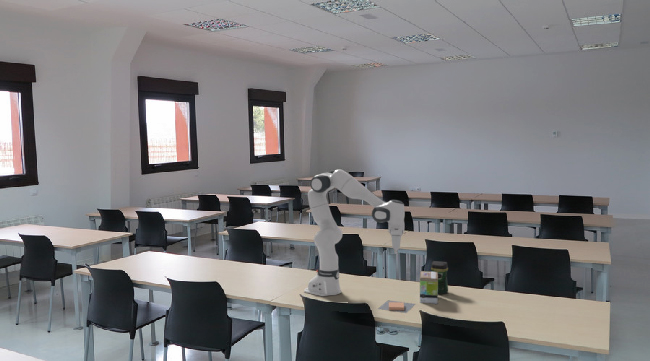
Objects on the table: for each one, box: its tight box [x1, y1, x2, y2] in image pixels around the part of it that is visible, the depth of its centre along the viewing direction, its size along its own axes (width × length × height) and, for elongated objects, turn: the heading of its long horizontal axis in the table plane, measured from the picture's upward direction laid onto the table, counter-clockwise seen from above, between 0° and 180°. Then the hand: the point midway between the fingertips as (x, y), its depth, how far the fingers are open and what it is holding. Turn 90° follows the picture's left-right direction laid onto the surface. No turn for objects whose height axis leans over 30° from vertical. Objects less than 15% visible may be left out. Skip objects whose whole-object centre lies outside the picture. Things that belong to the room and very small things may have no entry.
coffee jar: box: [430, 260, 449, 295], centre depth 307 cm, size 10×8×19 cm
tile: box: [388, 301, 404, 311], centre depth 279 cm, size 2×8×8 cm
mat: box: [377, 299, 416, 314], centre depth 282 cm, size 16×16×1 cm
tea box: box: [419, 270, 439, 305], centre depth 294 cm, size 15×10×15 cm, turn 168°
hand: (396, 253), depth 290 cm, fingers closed
